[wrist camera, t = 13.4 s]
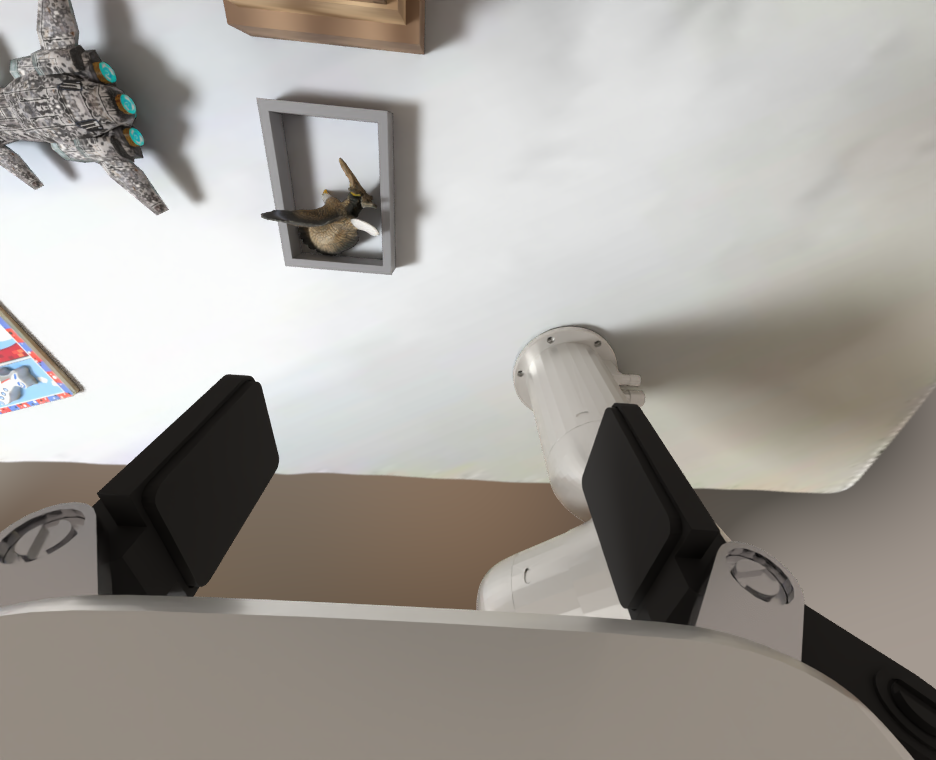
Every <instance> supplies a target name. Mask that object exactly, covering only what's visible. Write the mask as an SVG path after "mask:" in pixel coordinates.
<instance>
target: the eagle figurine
mask: <svg viewBox="0 0 936 760" xmlns="http://www.w3.org/2000/svg"><path fill="white" fill-rule="evenodd" d="M339 162H340V165H341V167H342V169H343V171H344V172H345V174H346V176H347V177H348V178H349V182H350V188H348V190H349V191H350V193H349V194H348V197H347V199H346V200H345V201H343V202H340V201H339V200H338V199H337V198H335V197H333V196H331V195H329V194H328V192H327V190H324V192H323V194H322V199H323V201H324V203H325V205H324V206H323V207H321V208H318V209H314V210H295V211H289V210H273V211H272V212H266V213H262V214H261V217H262V218H264V219H267V220H272V221H279V222H283V223H287V224H290V225H294V226H299V229H298V231H299V232H300V233H301V234H300V236H299V237H300V238H301V239H303V243H304V244H306V245H308V247H309V248H310V249H316V251H317V252H318V253H322V254H323V255H330V256H333V255H334V256H335V255H337V254H339V253H342V251H345V250H347V249H348V248H351V247H354V245H356V243H357V242H358V241H359V237H358V236H357V235H358V233H357V229H360V230H363V231H366V232H368V233H369V234H370V235H372V236H377V235H379V232H378V230H377V229H376V227H374V226H372V225H371V224H369V223H368V222H366V221H363V220H360V219H357V217H358V214H359V212H360V211H361V209H363V208H365V207H372V208H374V209H377V205H376V204H374V203H372V201H371V200H373V197H372V196H370V195H368V194H367V193H366V192H365V190H364V189H363V188H362V186H361V185H360V183H359V182H358V180H357V179H356V177H355V176H354V174H353V173H352V171H351V170H350V169H349V167H348V166H347V164H346V163H345V162H344V161H343V160H342V159H341V158H339Z"/></svg>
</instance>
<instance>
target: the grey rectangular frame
mask: <svg viewBox="0 0 936 760" xmlns="http://www.w3.org/2000/svg"><path fill="white" fill-rule="evenodd" d="M257 104H258V110H259V116H260V122H261V127H262V133H263V139H264V145H265V151H266V156H267V162H268V168H269V174H270V180H271V185H272V191H273V197H274V203H275V208H276V210H289V211H295V210H296V209H295V203H294V196H293V189H292V182H291V175H290V169H289V162H288V155H287V148H286V141H285V135H284V128H283V121H282V114H281V113H284V114H294V115H304V116H314V117H324V118H334V119H344V120H354V121H364V122H374V123H378V141H379V168H380V196H381V223H382V251H383V260H382V259H371V258H359V257H347V256H336V255H335V256H334V255H333V256H330V255H323V254H312V253H302V250H301V243H300V237H299V231H298V226H294V225H290V224H287V223H283V222H279V221H278V226H279V232H280V237H281V243H282V249H283V255H284V261H285V266H292V267H304V268H315V269H327V270H339V271H351V272H363V273H375V274H387V275H392V273H393V271H394V270H395V216H394V164H393V113H390V112H388V111H382V110H372V109H362V108H352V107H342V106H332V105H322V104H312V103H302V102H292V101H283V100H273V99H263V98H257Z"/></svg>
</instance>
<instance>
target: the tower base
mask: <svg viewBox="0 0 936 760" xmlns="http://www.w3.org/2000/svg"><path fill="white" fill-rule="evenodd" d="M223 2H224V7H225V12H226V18H227V23H228V24H229V25H231V26H233V27H235V28H237V29H238V30H240V31H242V32H244V33H246V34H248V35H250V36H255V37H264V38H273V39H283V40H292V41H301V42H311V43H320V44H329V45H339V46H348V47H358V48H367V49H376V50H386V51H395V52H404V53H414V54H423V55H424V35H425V0H223Z"/></svg>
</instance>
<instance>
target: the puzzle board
mask: <svg viewBox="0 0 936 760" xmlns="http://www.w3.org/2000/svg"><path fill="white" fill-rule="evenodd" d="M79 391H80V389H79V387H78V386H77V385H76V384H75V383H74V382H73V381H72V380H71V379H70V378H69V377H68V376H67V375H66V374H65V373H64V371H63V370H62V369H61V368H60V367H59V366H58V365H57V364H56V363H55V362H54V361H53V360H52V359H51V358H50V357H49V356H48V355H47V354H46V353H45V352H44V351H43V350H42V349H41V348H40V347H39V345H38V344H37V343H36V342H35V341H34V340H33V339H32V338H31V337H30V336H29V335H28V334H27V333H26V332H25V331H24V330H23V329H22V328H21V327H20V326H19V325H18V324H17V323H16V322H15V321H14V320H13V318H12V317H11V316H10V315H9V314H8V313H7V312H6V311H5V310H4V309H3V308H2V307H1V306H0V414H3V413H7V412H11V411H15V410H19V409H23V408H27V407H31V406H35V405H39V404H43V403H47V402H51V401H55V400H59V399H64V398H67V397H71V396H74V395H75V394H76V393H77V392H79Z"/></svg>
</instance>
